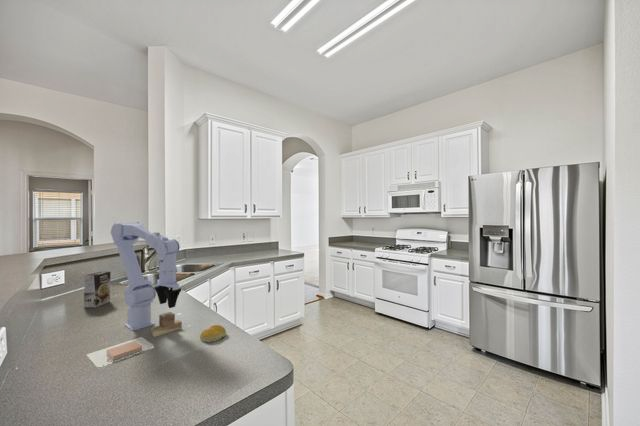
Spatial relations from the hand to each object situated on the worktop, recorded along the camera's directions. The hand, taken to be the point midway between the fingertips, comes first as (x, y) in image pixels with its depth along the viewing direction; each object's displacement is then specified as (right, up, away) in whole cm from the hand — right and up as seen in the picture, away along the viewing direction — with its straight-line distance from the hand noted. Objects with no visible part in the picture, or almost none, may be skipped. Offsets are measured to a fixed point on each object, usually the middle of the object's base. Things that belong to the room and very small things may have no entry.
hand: (167, 305), depth 105 cm
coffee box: (-54, -11, +32) cm, 63 cm away
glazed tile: (-7, -9, -15) cm, 19 cm away
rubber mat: (-6, -10, -15) cm, 19 cm away
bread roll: (+20, -11, -4) cm, 23 cm away
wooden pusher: (0, -11, 0) cm, 11 cm away
